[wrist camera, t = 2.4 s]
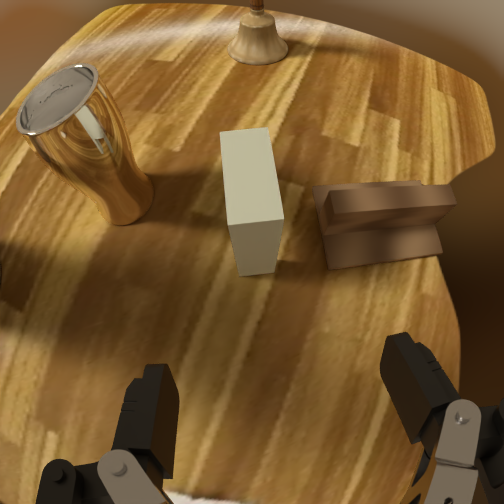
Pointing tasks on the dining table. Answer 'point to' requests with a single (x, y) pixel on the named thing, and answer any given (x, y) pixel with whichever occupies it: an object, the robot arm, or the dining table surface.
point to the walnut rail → (380, 221)
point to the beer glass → (86, 142)
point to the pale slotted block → (252, 199)
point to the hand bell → (257, 38)
